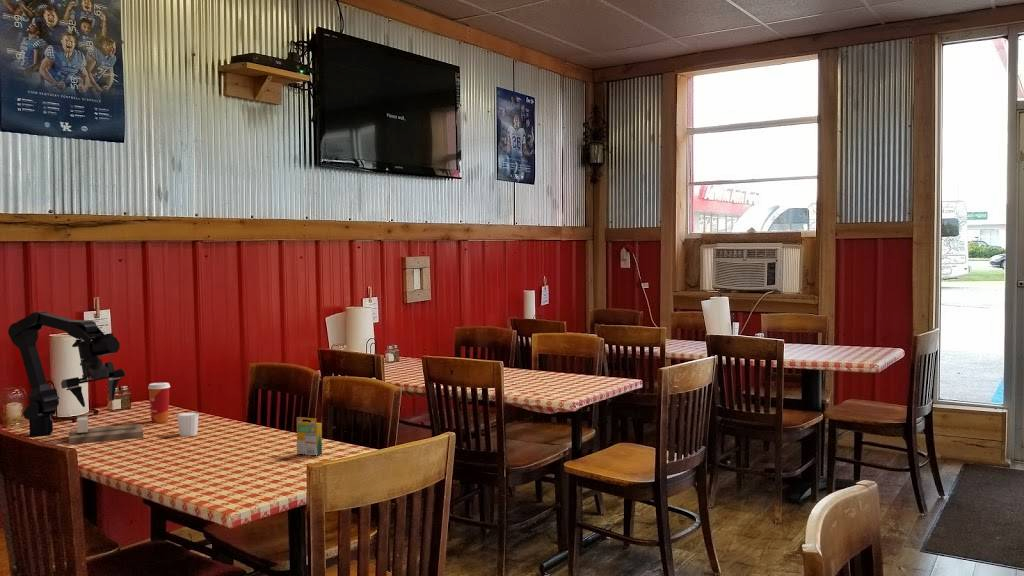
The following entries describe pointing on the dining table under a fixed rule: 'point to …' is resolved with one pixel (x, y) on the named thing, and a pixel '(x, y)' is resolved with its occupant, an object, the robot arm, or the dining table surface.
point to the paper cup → (159, 402)
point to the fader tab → (82, 424)
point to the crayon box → (309, 436)
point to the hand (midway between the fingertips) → (98, 403)
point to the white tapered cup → (188, 424)
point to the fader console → (106, 434)
